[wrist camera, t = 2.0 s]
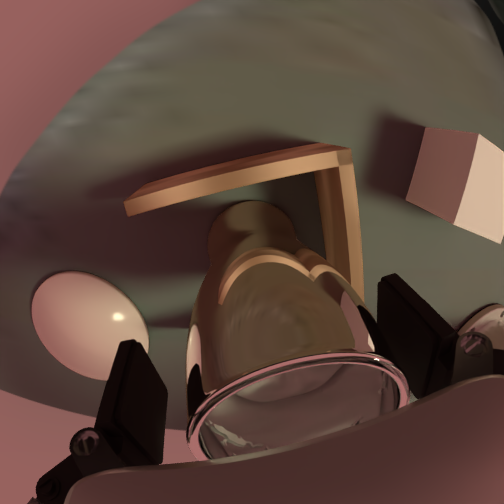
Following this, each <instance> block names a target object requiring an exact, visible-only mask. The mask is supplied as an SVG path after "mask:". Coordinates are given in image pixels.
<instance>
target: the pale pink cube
mask: <svg viewBox="0 0 504 504" xmlns="http://www.w3.org/2000/svg"><path fill="white" fill-rule="evenodd" d="M406 201H408V202H410V203H412V204H415V205H417V206H419V207H421V208H423V209H425V210H427V211H429V212H431V213H432V214H434V215H436V216H438V217H440V218H442V219H444V220H446V221H448V222H450V223H452V224H453V225H456V226H458V227H461V228H463V229H466V230H468V231H471V232H473V233H476V234H478V235H481V236H483V237H485V238H488V239H490V240H493V241H495V242H497V243H499V244H501V241H502V238H503V235H504V152H503V151H502V150H500V149H499V148H498V147H496V146H495V145H494V144H492V143H491V142H490V141H488V140H487V139H485V138H484V137H483V136H481V135H480V134H477V133H471V132H464V131H456V130H448V129H439V128H429V127H425V131H424V136H423V140H422V144H421V147H420V151H419V155H418V159H417V163H416V166H415V170H414V173H413V177H412V180H411V183H410V187H409V190H408V193H407V196H406Z"/></svg>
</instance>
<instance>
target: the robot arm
mask: <svg viewBox="0 0 504 504" xmlns="http://www.w3.org/2000/svg"><path fill="white" fill-rule="evenodd" d="M377 325H378V326H379V328H380V330H381V332H382V333H383V335H384V337H385V339H386V341H387V343H388V345H389V347H390V348H391V350H392V352H393V354H394V356H395V358H396V360H397V362H398V364H399V365H400V367H401V368H402V370H403V371H404V372H405V374H406V376H407V377H408V380H409V384H410V390H411V391H412V393H413V395H414V396H415V397H416V398H417V399H419V400H417V401H415V402H412V403H410V404H408V405H405V406H403V407H401V408H398V409H396V410H393V411H391V412H389V413H386V414H384V415H381V416H379V417H376V418H373V419H371V420H368V421H365V422H363V423H360V424H357V425H354V426H351V427H348V428H345V429H342V430H339V431H336V432H333V433H330V434H326V435H323V436H320V437H316V438H313V439H309V440H306V441H302V442H298V443H294V444H290V445H286V446H282V447H278V448H273V449H269V450H264V451H259V452H254V453H249V454H243V455H238V456H232V457H225V458H219V459H211V460H204V461H195V462H185V463H175V464H163V465H159V464H161V463H162V462H163V448H164V434H165V421H166V410H167V399H168V392H167V388H166V386H165V384H164V383H163V381H162V379H161V377H160V376H159V374H158V372H157V371H156V369H155V367H154V365H153V364H152V362H151V360H150V358H149V356H148V355H147V353H146V351H145V349H144V347H143V345H142V344H141V343H140V342H137V341H136V340H135V339H131V340H125V341H121V342H120V343H119V346H118V349H117V352H116V355H115V358H114V362H113V365H112V368H111V371H110V374H109V378H108V380H107V383H106V386H105V390H104V393H103V397H102V400H101V404H100V407H99V411H98V415H97V418H96V422H95V426H94V428H91V427H88V428H83V429H81V430H79V431H78V432H77V433H76V434H74V436H73V437H72V439H71V441H70V447H69V449H70V452H71V455H70V456H68V457H67V458H66V459H64V460H63V461H62V462H60V463H59V464H58V465H56V466H55V467H54V468H52V469H51V470H50V471H48V472H47V473H46V474H44V475H43V476H42V477H41V478H40V479H39V481H38V482H37V485H36V494H37V498H36V499H35V498H34V497H32V498H31V499H30V501H29V502H28V503H27V504H504V306H503V305H500V304H495V305H492V306H489V307H487V308H485V309H483V310H481V311H480V312H479V313H477V314H476V315H475V316H473V317H472V318H471V319H470V320H469V321H468V322H467V323H466V324H465V325H464V326H463V327H462V328H461V329H460V330H459V331H458V333H457V332H456V331H455V330H454V329H453V328H452V327H451V326H450V325H449V324H448V323H447V322H446V321H445V320H444V319H443V318H442V317H441V316H440V315H439V314H438V313H437V312H436V311H435V310H434V309H433V308H432V307H431V306H430V305H429V304H428V303H427V302H426V301H425V300H424V299H422V298H421V297H420V296H419V295H418V294H417V293H416V292H415V291H414V290H413V289H412V288H411V287H410V286H409V285H408V284H407V283H406V282H405V281H404V280H403V279H402V278H401V277H399V276H398V275H397V274H396V273H394V274H390V275H387V276H384V277H382V278H381V282H378V299H377Z"/></svg>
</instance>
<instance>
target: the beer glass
mask: <svg viewBox="0 0 504 504" xmlns="http://www.w3.org/2000/svg"><path fill="white" fill-rule="evenodd" d="M207 249H208V255H209V259H210V262H211V266H210V268H209V270H208V272H207V274H206V276H205V278H204V280H203V282H202V284H201V287H200V289H199V292H198V295H197V297H196V300H195V303H194V306H193V309H192V313H191V319H190V324H189V330H188V336H187V348H186V365H185V377H186V405H187V431H186V438H187V443H188V446H189V449H190V451H191V452H192V454H193V455H194V456H195V458H196V459H197V460H198V461H204V460H211V459H219V458H225V457H232V456H238V455H243V454H249V453H254V452H259V451H264V450H269V449H273V448H278V447H282V446H286V445H290V444H294V443H298V442H302V441H306V440H309V439H313V438H316V437H320V436H323V435H326V434H330V433H333V432H336V431H339V430H342V429H345V428H348V427H351V426H354V425H357V424H360V423H363V422H365V421H368V420H371V419H373V418H376V417H379V416H381V415H384V414H386V413H389V412H391V411H393V410H396V409H398V408H401V407H403V406H405V405H408V404H409V400H410V384H409V380H408V377H407V376H406V374H405V372H404V371H403V370H402V368H401V367H400V365H399V364H398V362H397V360H396V358H395V356H394V354H393V352H392V350H391V348H390V347H389V345H388V343H387V341H386V339H385V337H384V335H383V333H382V332H381V330H380V328H379V326H378V325H377V323H376V321H375V319H374V318H373V316H372V314H371V313H370V311H369V310H368V308H367V307H366V305H365V304H364V302H363V301H362V299H361V298H360V296H359V295H358V294H357V292H356V291H355V290H354V288H353V287H352V286H351V285H350V284H349V283H348V281H347V280H346V279H345V278H344V277H343V276H342V274H341V273H340V272H339V271H338V270H337V269H336V268H335V267H333V266H332V265H331V264H330V263H329V262H327V261H326V260H325V259H324V258H323V257H322V256H320V255H319V254H318V253H316V252H315V251H313V250H312V249H310V248H309V247H307V246H306V245H304V244H303V243H301V242H300V241H298V240H297V237H296V233H295V229H294V226H293V224H292V222H291V220H290V219H289V217H288V216H287V215H286V214H285V213H284V212H283V211H282V210H280V209H279V208H277V207H276V206H274V205H272V204H269V203H266V202H262V201H245V202H241V203H238V204H235V205H233V206H231V207H229V208H227V209H226V210H225V211H223V212H222V213H221V214H220V215H219V216H218V217H217V219H216V220H215V221H214V223H213V225H212V227H211V229H210V232H209V235H208V241H207Z"/></svg>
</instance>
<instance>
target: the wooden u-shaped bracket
mask: <svg viewBox="0 0 504 504" xmlns="http://www.w3.org/2000/svg"><path fill="white" fill-rule="evenodd" d="M311 171H314V177H315V183H316V189H317V196H318V202H319V209H320V215H321V223H322V230H323V237H324V245H325V253H326V261H327V262H329V263H330V264H331V265H332V266H333V267H335V268H336V269H337V270H338V271H339V272H340V273H341V274H342V276H343V277H344V278H345V279H346V280H347V281H348V283H349V284H350V285H351V286H352V287H353V288H354V290H355V291H356V292H357V294H358V295H359V296H360V298H361V299H362V301H363V302H364V282H363V262H362V246H361V233H360V221H359V210H358V201H357V192H356V183H355V176H354V168H353V161H352V154H351V148H346V147H341V146H335V145H330V144H325V143H316V144H310V145H305V146H299V147H294V148H288V149H283V150H278V151H273V152H268V153H264V154H259V155H254V156H250V157H245V158H241V159H237V160H232V161H228V162H224V163H220V164H216V165H212V166H208V167H204V168H200V169H196V170H192V171H189V172H185V173H181V174H178V175H174V176H171V177H167V178H164V179H160V180H157V181H153V182H150V183H147V184H145V185H144V186H142V187H141V188H140V189H139V190H137V191H136V192H135V193H134V194H132V195H131V196H130V197H129V198H127V199H126V200H125V201H124V202H123V203H124V206H125V209H126V212H127V215H128V217H129V216H132V215H136V214H139V213H143V212H146V211H149V210H153V209H156V208H160V207H164V206H167V205H171V204H174V203H178V202H182V201H186V200H189V199H193V198H197V197H201V196H205V195H209V194H213V193H217V192H221V191H225V190H229V189H233V188H237V187H242V186H246V185H250V184H255V183H259V182H263V181H268V180H272V179H277V178H282V177H286V176H291V175H296V174H301V173H306V172H311Z"/></svg>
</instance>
